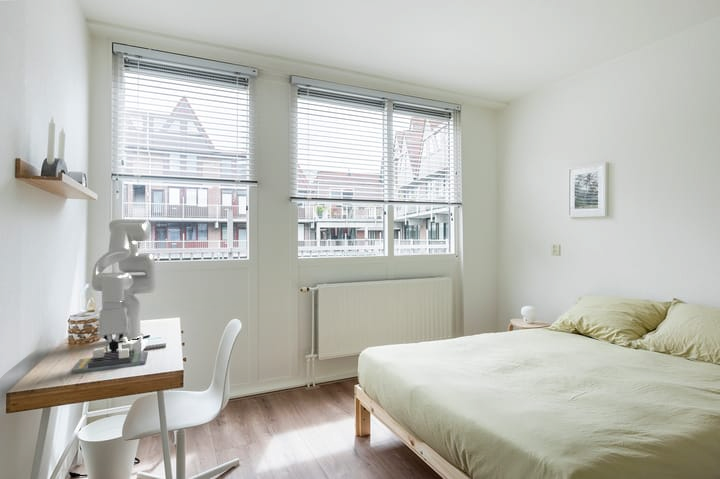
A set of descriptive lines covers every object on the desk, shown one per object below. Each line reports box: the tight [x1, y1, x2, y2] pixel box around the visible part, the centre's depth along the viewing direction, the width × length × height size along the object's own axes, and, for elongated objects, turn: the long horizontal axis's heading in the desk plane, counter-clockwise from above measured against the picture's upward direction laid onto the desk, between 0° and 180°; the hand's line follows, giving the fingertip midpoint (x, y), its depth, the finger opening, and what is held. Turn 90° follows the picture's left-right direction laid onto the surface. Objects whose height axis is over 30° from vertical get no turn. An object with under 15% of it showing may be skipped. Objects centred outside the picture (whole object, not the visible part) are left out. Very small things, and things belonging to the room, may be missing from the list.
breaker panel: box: [71, 349, 149, 374], centre depth 157 cm, size 15×24×3 cm, turn 115°
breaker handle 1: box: [121, 342, 132, 351], centre depth 164 cm, size 3×3×5 cm
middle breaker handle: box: [92, 347, 105, 358], centre depth 155 cm, size 3×3×5 cm
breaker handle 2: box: [118, 348, 129, 359], centre depth 155 cm, size 3×3×5 cm
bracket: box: [122, 336, 149, 353], centre depth 175 cm, size 13×7×8 cm, turn 17°
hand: (114, 351), depth 158 cm, fingers closed
